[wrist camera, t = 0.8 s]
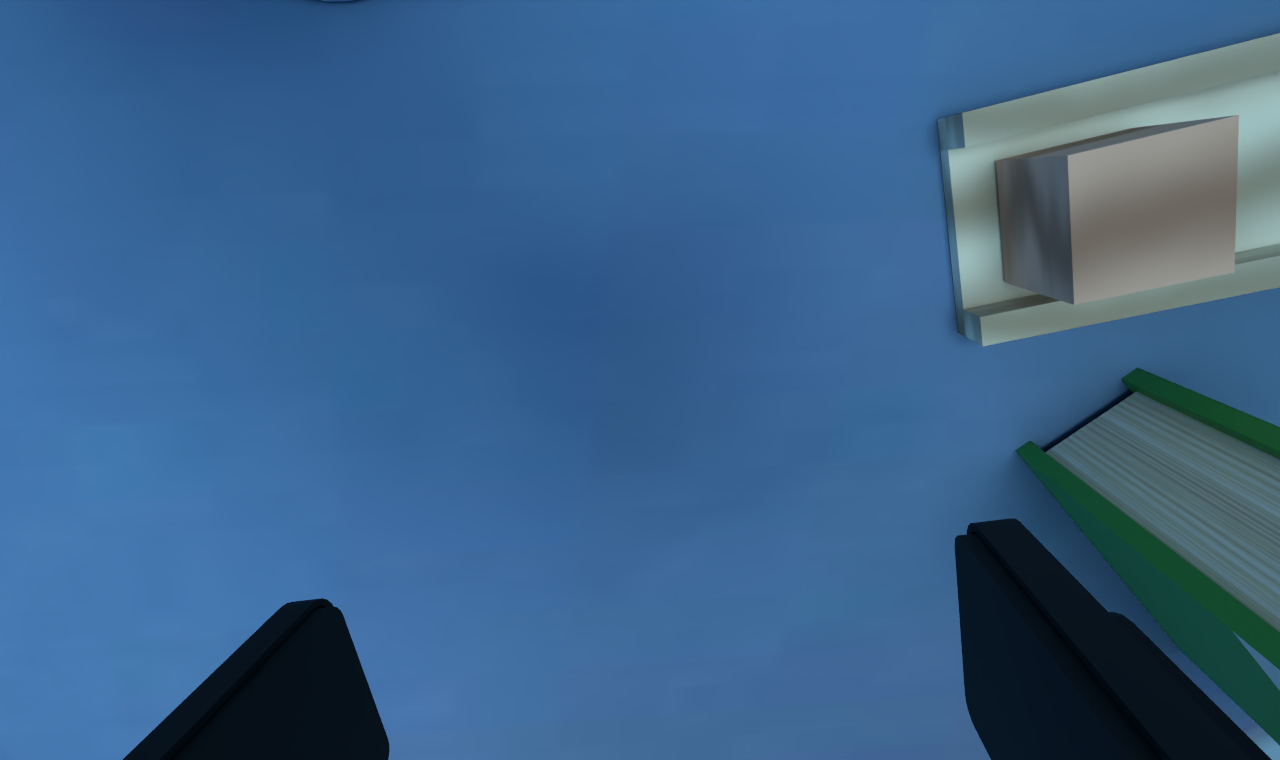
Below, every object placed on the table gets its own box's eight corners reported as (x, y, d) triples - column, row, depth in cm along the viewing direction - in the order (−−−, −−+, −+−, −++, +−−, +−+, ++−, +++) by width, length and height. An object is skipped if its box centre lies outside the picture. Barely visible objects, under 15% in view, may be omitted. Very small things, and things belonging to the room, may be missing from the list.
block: (995, 160, 30) (1067, 155, 24) (1131, 127, 29) (1239, 115, 23) (1005, 282, 32) (1074, 305, 26) (1133, 255, 31) (1234, 272, 25)
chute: (937, 119, 31) (962, 112, 28) (1402, 2, 28) (1483, -18, 25) (958, 332, 34) (982, 346, 31) (1379, 246, 31) (1449, 253, 28)
